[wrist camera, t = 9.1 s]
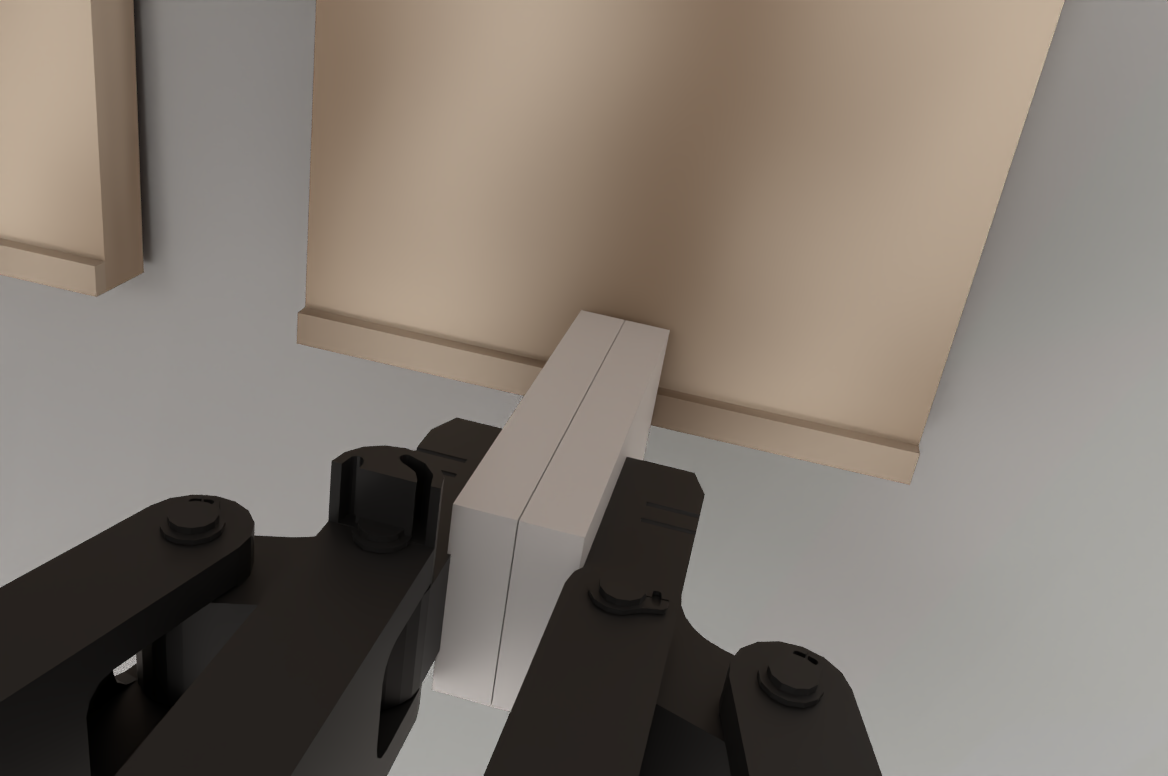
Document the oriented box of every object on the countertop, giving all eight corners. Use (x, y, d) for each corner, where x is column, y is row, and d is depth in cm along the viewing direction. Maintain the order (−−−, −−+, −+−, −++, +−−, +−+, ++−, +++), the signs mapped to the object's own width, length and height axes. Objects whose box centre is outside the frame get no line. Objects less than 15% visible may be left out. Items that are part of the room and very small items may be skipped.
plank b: (331, 315, 20) (297, 343, 19) (353, -144, 17) (312, -149, 15) (903, 444, 19) (909, 484, 17) (1055, -27, 15) (1076, -22, 14)
